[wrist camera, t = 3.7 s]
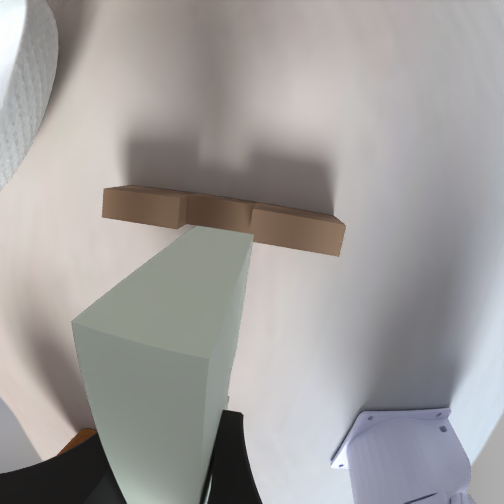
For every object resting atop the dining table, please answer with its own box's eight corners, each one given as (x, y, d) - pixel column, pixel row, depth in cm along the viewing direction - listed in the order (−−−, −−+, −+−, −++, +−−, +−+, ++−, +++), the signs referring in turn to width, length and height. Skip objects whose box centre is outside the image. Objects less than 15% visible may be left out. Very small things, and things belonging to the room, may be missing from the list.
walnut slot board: (333, 215, 16) (345, 225, 13) (328, 242, 16) (339, 256, 13) (130, 185, 16) (103, 188, 14) (128, 209, 17) (102, 217, 14)
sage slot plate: (196, 225, 10) (71, 321, 3) (253, 234, 10) (209, 359, 3) (185, 443, 13) (151, 546, 7) (221, 450, 13) (197, 558, 7)
